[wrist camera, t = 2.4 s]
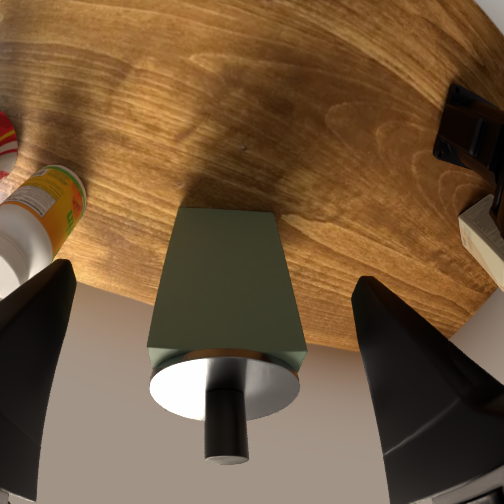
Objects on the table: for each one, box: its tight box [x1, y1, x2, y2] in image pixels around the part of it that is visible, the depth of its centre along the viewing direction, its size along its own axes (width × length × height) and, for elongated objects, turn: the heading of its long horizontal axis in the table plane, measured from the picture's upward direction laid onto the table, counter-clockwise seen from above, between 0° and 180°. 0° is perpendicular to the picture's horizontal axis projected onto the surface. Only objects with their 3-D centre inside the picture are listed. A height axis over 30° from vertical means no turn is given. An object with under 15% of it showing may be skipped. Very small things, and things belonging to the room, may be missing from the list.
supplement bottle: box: [0, 165, 87, 299], centre depth 16 cm, size 5×5×10 cm
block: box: [147, 207, 307, 413], centre depth 19 cm, size 7×7×12 cm
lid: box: [149, 348, 300, 465], centre depth 13 cm, size 8×8×4 cm
